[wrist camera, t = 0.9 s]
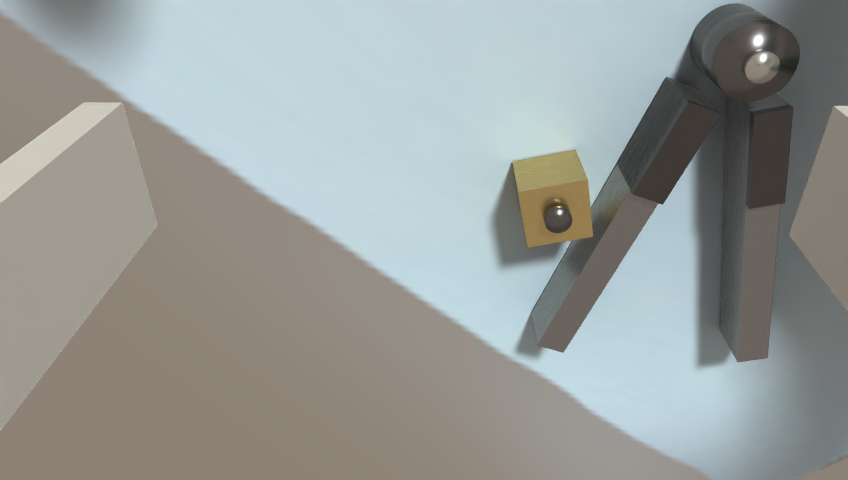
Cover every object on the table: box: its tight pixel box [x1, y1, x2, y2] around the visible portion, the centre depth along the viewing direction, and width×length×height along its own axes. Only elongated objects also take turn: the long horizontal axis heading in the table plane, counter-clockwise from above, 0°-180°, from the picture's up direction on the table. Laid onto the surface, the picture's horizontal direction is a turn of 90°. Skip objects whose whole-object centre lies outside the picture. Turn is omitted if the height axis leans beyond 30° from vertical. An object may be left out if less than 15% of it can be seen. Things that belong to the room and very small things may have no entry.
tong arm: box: [531, 77, 721, 352], centre depth 41 cm, size 19×2×4 cm, turn 161°
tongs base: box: [690, 4, 800, 362], centre depth 40 cm, size 24×4×5 cm, turn 13°
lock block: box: [512, 150, 593, 248], centre depth 40 cm, size 4×4×5 cm
